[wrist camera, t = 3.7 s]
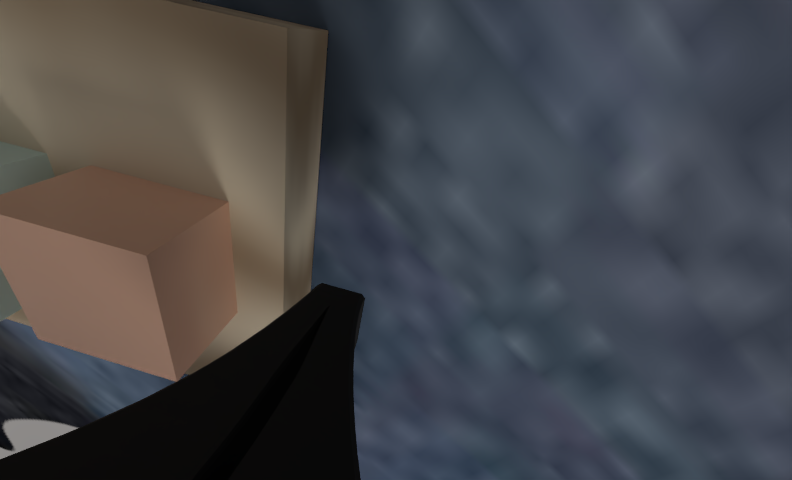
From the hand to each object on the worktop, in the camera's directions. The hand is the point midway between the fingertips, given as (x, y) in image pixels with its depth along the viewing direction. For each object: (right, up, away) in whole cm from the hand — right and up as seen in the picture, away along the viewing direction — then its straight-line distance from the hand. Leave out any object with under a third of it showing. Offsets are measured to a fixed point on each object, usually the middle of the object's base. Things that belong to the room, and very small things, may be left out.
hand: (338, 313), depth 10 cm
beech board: (-8, +4, +4) cm, 10 cm away
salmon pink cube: (-6, +2, +1) cm, 6 cm away
